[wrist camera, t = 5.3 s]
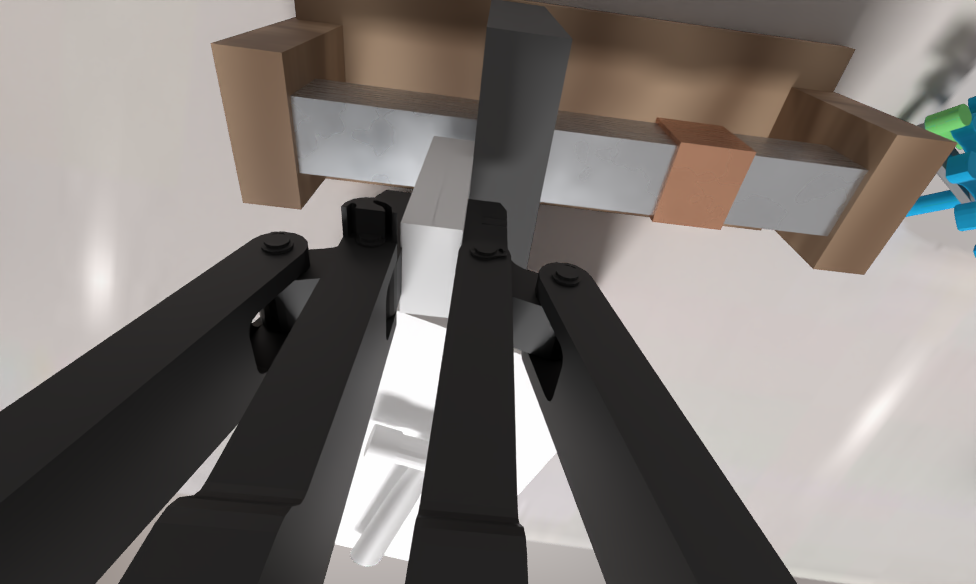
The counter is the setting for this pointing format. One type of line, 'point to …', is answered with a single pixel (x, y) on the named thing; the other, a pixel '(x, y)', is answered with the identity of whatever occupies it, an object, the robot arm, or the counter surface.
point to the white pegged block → (418, 442)
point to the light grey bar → (588, 159)
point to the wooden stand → (581, 96)
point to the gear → (954, 166)
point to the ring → (518, 114)
